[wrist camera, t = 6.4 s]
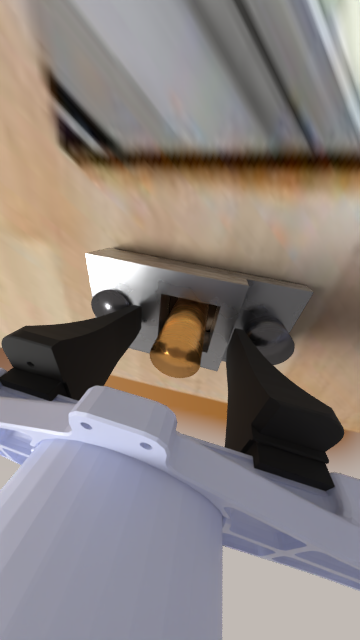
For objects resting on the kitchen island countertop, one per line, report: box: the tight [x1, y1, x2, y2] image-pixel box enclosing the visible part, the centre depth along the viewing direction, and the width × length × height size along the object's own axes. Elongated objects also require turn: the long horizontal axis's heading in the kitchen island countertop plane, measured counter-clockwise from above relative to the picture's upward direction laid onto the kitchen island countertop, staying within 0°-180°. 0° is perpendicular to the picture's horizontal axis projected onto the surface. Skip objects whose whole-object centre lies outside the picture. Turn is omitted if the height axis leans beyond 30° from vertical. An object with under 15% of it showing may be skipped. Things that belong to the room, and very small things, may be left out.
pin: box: [150, 298, 208, 378], centre depth 13 cm, size 3×3×7 cm
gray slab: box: [86, 248, 314, 371], centre depth 14 cm, size 16×8×4 cm, turn 82°
